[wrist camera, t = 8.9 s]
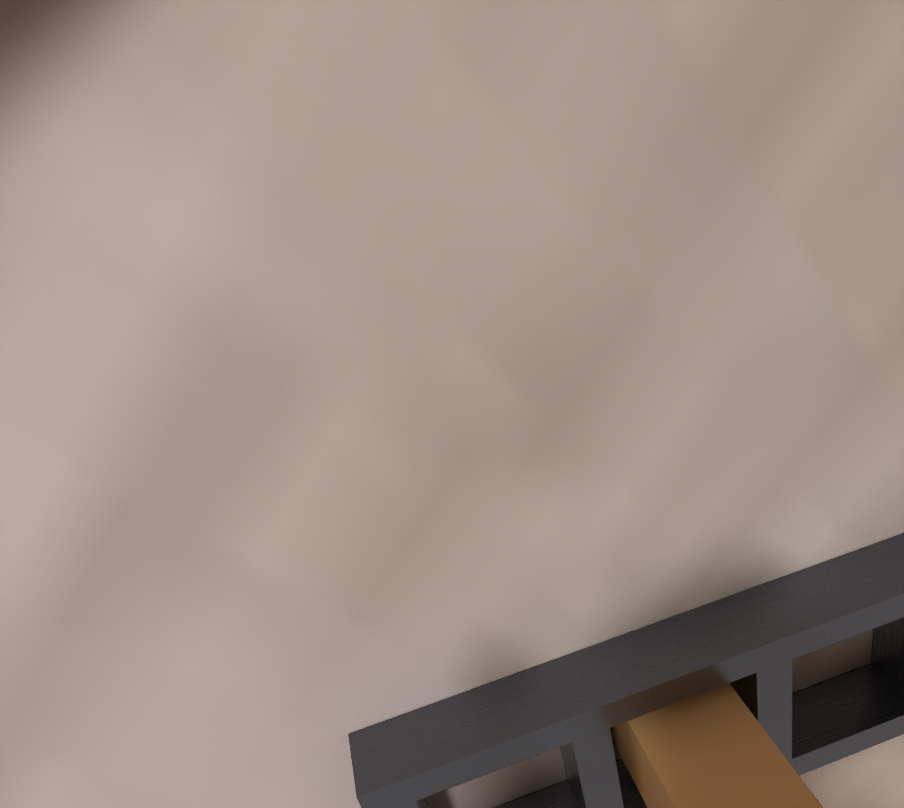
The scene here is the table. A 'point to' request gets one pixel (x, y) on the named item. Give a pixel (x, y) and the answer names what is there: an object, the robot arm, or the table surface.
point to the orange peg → (708, 757)
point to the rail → (664, 691)
